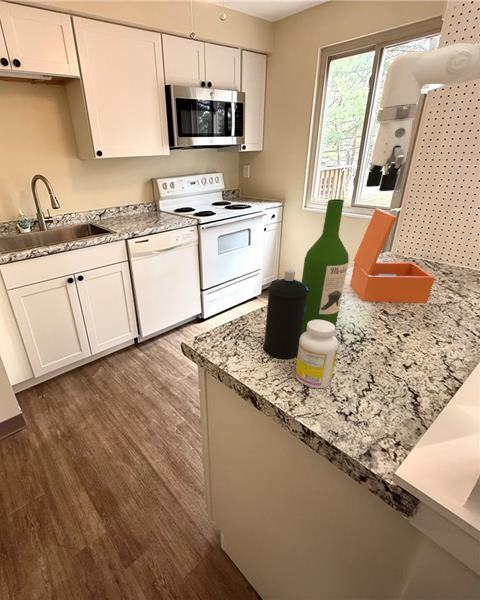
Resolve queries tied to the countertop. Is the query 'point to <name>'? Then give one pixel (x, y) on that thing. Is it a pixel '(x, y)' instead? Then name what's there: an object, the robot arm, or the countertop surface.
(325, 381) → the supplement bottle
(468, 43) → the robot arm
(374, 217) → the orange box lid
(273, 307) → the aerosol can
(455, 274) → the countertop surface
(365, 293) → the orange hinged box
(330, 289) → the wine bottle
